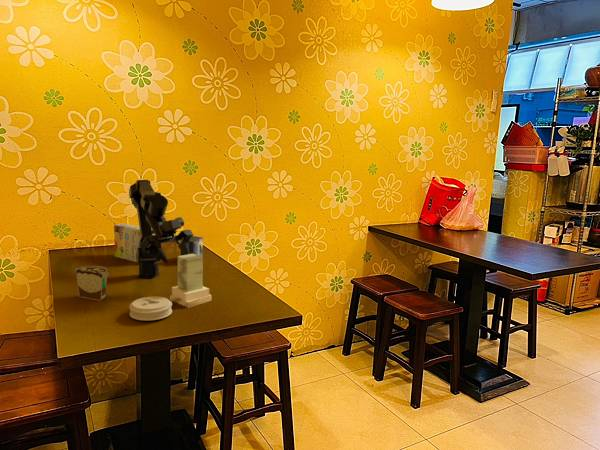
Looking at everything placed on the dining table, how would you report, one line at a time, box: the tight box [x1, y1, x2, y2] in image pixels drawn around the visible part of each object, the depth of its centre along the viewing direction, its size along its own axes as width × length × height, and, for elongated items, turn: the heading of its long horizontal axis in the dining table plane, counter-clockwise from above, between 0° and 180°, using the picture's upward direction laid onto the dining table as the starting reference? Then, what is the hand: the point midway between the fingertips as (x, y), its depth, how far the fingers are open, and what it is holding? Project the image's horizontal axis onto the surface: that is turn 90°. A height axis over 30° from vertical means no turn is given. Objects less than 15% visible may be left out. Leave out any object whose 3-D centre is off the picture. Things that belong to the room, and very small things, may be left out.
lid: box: [129, 295, 173, 321], centre depth 142 cm, size 13×13×5 cm
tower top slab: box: [171, 285, 210, 301], centre depth 156 cm, size 9×9×2 cm
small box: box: [180, 235, 204, 258], centre depth 204 cm, size 11×6×10 cm, turn 168°
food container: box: [74, 265, 110, 302], centre depth 155 cm, size 12×6×10 cm, turn 71°
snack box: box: [113, 223, 155, 264], centre depth 202 cm, size 21×6×15 cm, turn 58°
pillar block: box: [177, 254, 204, 292], centre depth 154 cm, size 6×6×11 cm
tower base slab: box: [169, 293, 213, 309], centre depth 156 cm, size 10×10×2 cm
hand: (178, 259), depth 157 cm, fingers open, 9 cm apart
